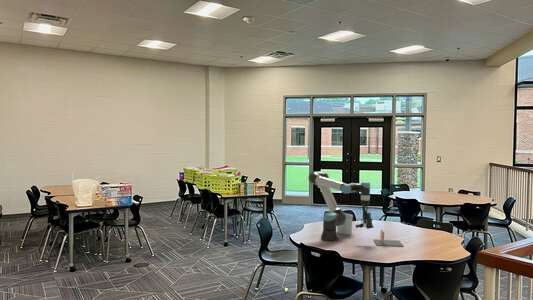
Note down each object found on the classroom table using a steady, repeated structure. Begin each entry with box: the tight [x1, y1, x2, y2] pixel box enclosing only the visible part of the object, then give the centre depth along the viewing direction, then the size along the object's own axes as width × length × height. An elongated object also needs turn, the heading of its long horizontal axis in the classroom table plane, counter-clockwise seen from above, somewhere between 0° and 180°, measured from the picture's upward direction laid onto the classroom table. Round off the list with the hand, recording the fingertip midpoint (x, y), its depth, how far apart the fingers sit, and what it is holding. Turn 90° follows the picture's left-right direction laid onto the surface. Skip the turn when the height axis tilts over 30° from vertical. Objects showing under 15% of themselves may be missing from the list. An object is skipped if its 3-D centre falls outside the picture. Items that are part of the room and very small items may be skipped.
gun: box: [354, 211, 375, 230], centre depth 339 cm, size 3×17×15 cm
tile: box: [379, 229, 385, 244], centre depth 337 cm, size 2×10×10 cm, turn 172°
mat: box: [373, 238, 404, 248], centre depth 336 cm, size 22×18×1 cm
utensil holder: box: [336, 213, 354, 235], centre depth 374 cm, size 15×15×18 cm
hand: (364, 226), depth 339 cm, fingers closed on gun, 3 cm apart
